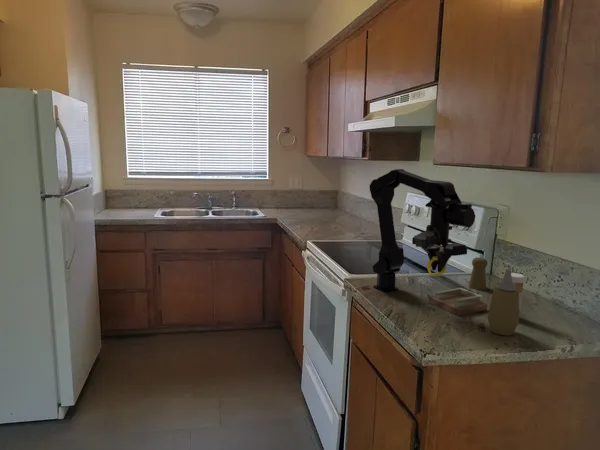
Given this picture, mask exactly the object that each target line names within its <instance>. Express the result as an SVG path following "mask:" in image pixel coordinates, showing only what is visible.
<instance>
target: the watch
mask: <svg viewBox="0 0 600 450" xmlns="http://www.w3.org/2000/svg"><path fill="white" fill-rule="evenodd" d="M435 260H438V256H433V258H432V259H431V260H429V261H428V263H427V267H426V269H427V271H428V274H430V275H431V276H433V277H436V276H442V275H443V274H445V272H446V270H447V264H446V265H445V266H444V268H443V270H442V271H441V272H438V273H432V271H431V270H432V269H431V268H432V267H431V264H432V262H433V261H435Z"/></svg>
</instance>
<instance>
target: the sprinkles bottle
mask: <svg viewBox="0 0 600 450" xmlns="http://www.w3.org/2000/svg"><path fill="white" fill-rule="evenodd" d="M511 276H512V282H514V283H516V291H517V292H518V293H519V319H520V318H521V317H520V315H521V314H520V313H521V308H522V301H523V300H522V299H523V290H524V289H523V288H524V282H525V275H524V274H521V273H518V272H517V273H515V272H511Z"/></svg>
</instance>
